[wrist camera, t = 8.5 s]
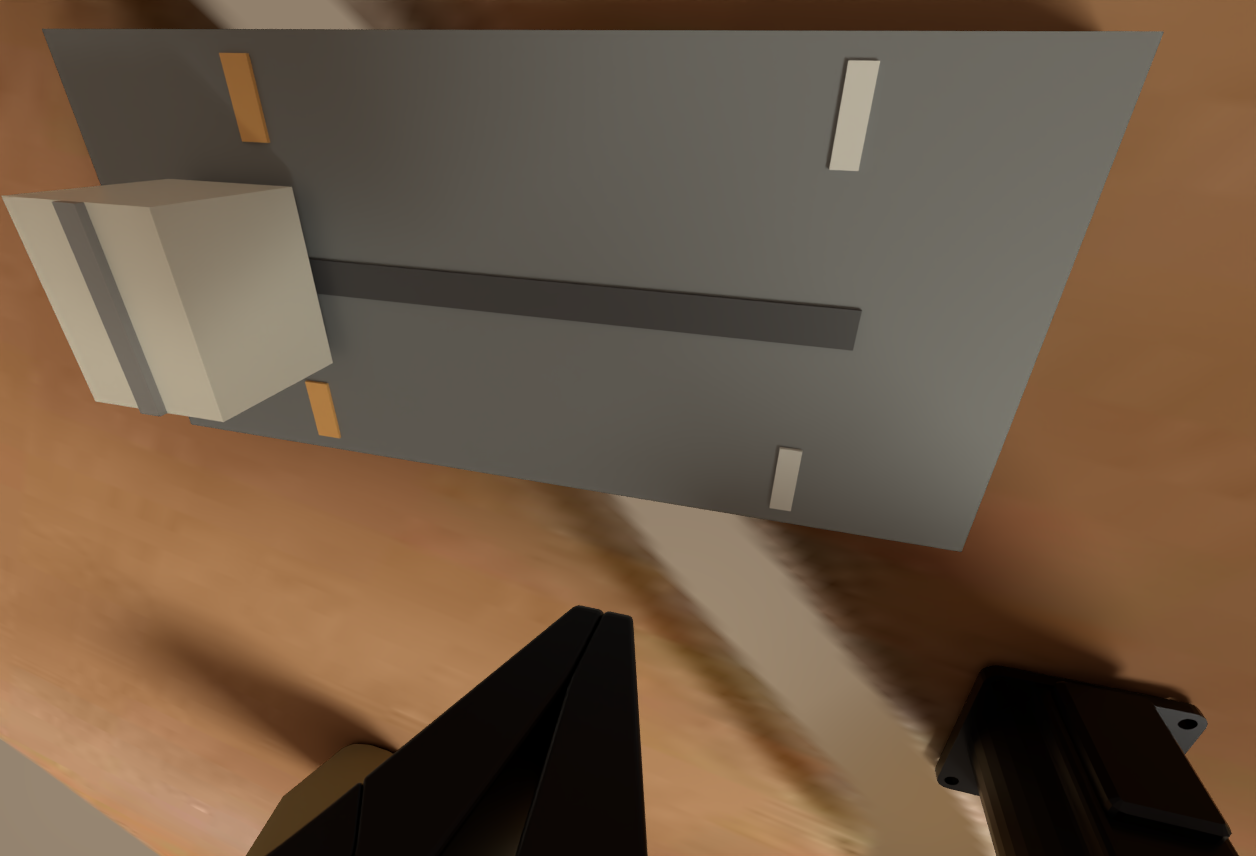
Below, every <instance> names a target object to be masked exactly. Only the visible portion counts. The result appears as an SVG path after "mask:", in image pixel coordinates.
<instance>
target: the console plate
mask: <svg viewBox="0 0 1256 856" xmlns="http://www.w3.org/2000/svg"><path fill="white" fill-rule="evenodd" d="M42 31H43V33H44V36H45V39H46V41H47V44H48V46H49V49H50V52H51V54H52V57H53V60H54V62H55V65H56V68H57V70H58V73H59V76H60V78H61V81H62V83H63V86H64V89H65V91H66V94H67V97H68V99H69V102H70V105H71V107H72V110H73V113H74V115H75V118H76V120H77V123H78V126H79V128H80V131H81V134H82V136H83V139H84V142H85V144H86V147H87V150H88V152H89V155H90V157H91V160H92V163H93V165H94V168H95V171H96V173H97V176H98V179H99V181H100V184H101V186H103V185H112V184H122V183H132V182H142V181H152V180H161V179H180V180H195V181H211V182H226V183H241V184H257V185H272V186H288V187H292V189H293V194H294V198H295V202H296V207H297V211H298V215H299V219H300V224H301V228H302V232H303V237H304V241H305V245H306V250H307V254H308V258H309V262H310V267H311V271H312V275H313V280H314V284H315V288H316V293H317V297H318V301H319V305H320V310H321V314H322V318H323V323H324V327H325V331H326V336H327V340H328V344H329V348H330V353H331V357H332V361H333V363H332V364H330V365H328V366H326V367H325V368H323V369H321V370H319V371H317V372H315V373H313V374H312V375H310V376H308V377H306V378H304V379H302V380H301V381H299V382H297V383H295V384H293V385H291V386H289V387H288V388H286V389H284V390H282V391H280V392H278V393H277V394H275V395H273V396H271V397H269V398H267V399H265V400H264V401H262V402H260V403H258V404H256V405H254V406H252V407H251V408H249V409H247V410H245V411H243V412H241V413H240V414H238V415H236V416H234V417H232V418H230V419H228V420H227V421H225V422H220V421H214V420H208V419H201V418H195V417H189V419H190V422H191V424H193V425H199V426H205V427H211V428H217V429H223V430H229V431H235V432H241V433H247V434H253V435H259V436H265V437H271V438H277V439H283V440H289V441H295V442H301V443H307V444H313V445H319V446H325V447H331V448H337V449H344V450H350V451H356V452H362V453H368V454H374V455H380V456H386V457H392V458H398V459H404V460H410V461H416V462H422V463H428V464H434V465H440V466H446V467H452V468H458V469H464V470H470V471H476V472H482V473H488V474H494V475H500V476H506V477H512V478H518V479H525V480H531V481H537V482H543V483H549V484H555V485H561V486H567V487H573V488H579V489H585V490H591V491H597V492H603V493H609V494H615V495H621V496H627V497H634V498H639V499H645V500H652V501H658V502H664V503H669V504H675V505H681V506H687V507H694V508H699V509H706V510H712V511H718V512H724V513H730V514H736V515H742V516H748V517H754V518H760V519H766V520H772V521H778V522H784V523H790V524H796V525H802V526H808V527H814V528H820V529H826V530H832V531H838V532H844V533H850V534H856V535H862V536H868V537H874V538H880V539H887V540H893V541H899V542H905V543H911V544H917V545H923V546H929V547H935V548H941V549H947V550H953V551H959V552H962V549H963V546H964V544H965V541H966V539H967V536H968V534H969V531H970V528H971V526H972V523H973V521H974V518H975V516H976V513H977V511H978V508H979V505H980V503H981V500H982V498H983V495H984V493H985V490H986V487H987V485H988V482H989V480H990V477H991V475H992V472H993V469H994V467H995V464H996V462H997V459H998V457H999V454H1000V451H1001V449H1002V446H1003V444H1004V441H1005V439H1006V436H1007V433H1008V431H1009V428H1010V426H1011V423H1012V421H1013V418H1014V415H1015V413H1016V410H1017V408H1018V405H1019V403H1020V400H1021V397H1022V395H1023V392H1024V390H1025V387H1026V385H1027V382H1028V379H1029V377H1030V374H1031V372H1032V369H1033V367H1034V364H1035V361H1036V359H1037V356H1038V354H1039V351H1040V349H1041V346H1042V343H1043V341H1044V338H1045V336H1046V333H1047V331H1048V328H1049V326H1050V323H1051V320H1052V318H1053V315H1054V313H1055V310H1056V308H1057V305H1058V302H1059V300H1060V297H1061V295H1062V292H1063V290H1064V287H1065V284H1066V282H1067V279H1068V277H1069V274H1070V272H1071V269H1072V266H1073V264H1074V261H1075V259H1076V256H1077V254H1078V251H1079V248H1080V246H1081V243H1082V241H1083V238H1084V236H1085V233H1086V230H1087V228H1088V225H1089V223H1090V220H1091V218H1092V215H1093V212H1094V210H1095V207H1096V205H1097V202H1098V200H1099V197H1100V194H1101V192H1102V189H1103V187H1104V184H1105V182H1106V179H1107V176H1108V174H1109V171H1110V169H1111V166H1112V164H1113V161H1114V158H1115V156H1116V153H1117V151H1118V148H1119V146H1120V143H1121V141H1122V138H1123V135H1124V133H1125V130H1126V128H1127V125H1128V123H1129V120H1130V117H1131V115H1132V112H1133V110H1134V107H1135V105H1136V102H1137V99H1138V97H1139V94H1140V92H1141V89H1142V87H1143V84H1144V81H1145V79H1146V76H1147V74H1148V71H1149V69H1150V66H1151V63H1152V61H1153V58H1154V56H1155V53H1156V51H1157V48H1158V45H1159V43H1160V40H1161V38H1162V35H1163V33H1164V32H1133V31H729V30H324V29H317V30H316V29H308V30H307V29H303V30H302V29H301V30H300V29H293V30H292V29H281V30H280V29H42Z"/></svg>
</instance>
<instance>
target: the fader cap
mask: <svg viewBox="0 0 1256 856" xmlns="http://www.w3.org/2000/svg"><path fill="white" fill-rule="evenodd" d="M2 198H3V201H4V203H5V205H6V207H7V209H8V212H9V214H10V216H11V218H12V220H13V222H14V225H15V227H16V229H17V231H18V233H19V236H20V238H21V240H22V242H23V244H24V246H25V249H26V251H27V253H28V255H29V257H30V260H31V262H32V264H33V266H34V268H35V270H36V273H37V275H38V277H39V279H40V281H41V283H42V286H43V288H44V290H45V292H46V294H47V297H48V299H49V301H50V303H51V305H52V307H53V310H54V312H55V314H56V316H57V318H58V321H59V323H60V325H61V327H62V329H63V331H64V334H65V336H66V338H67V340H68V342H69V345H70V347H71V349H72V351H73V353H74V355H75V358H76V360H77V362H78V364H79V366H80V369H81V371H82V373H83V375H84V377H85V379H86V382H87V384H88V386H89V388H90V390H91V393H92V395H93V397H94V399H95V401H97V402H103V403H109V404H115V405H122V406H128V407H134V408H139V410H140V413H142V414H148V415H154V416H162V415H164V414H166V413H171V414H177V415H183V416H189V417H195V418H201V419H208V420H214V421H220V422H225V421H227V420H228V419H230V418H232V417H234V416H236V415H238V414H240V413H241V412H243V411H245V410H247V409H249V408H251V407H252V406H254V405H256V404H258V403H260V402H262V401H264V400H265V399H267V398H269V397H271V396H273V395H275V394H277V393H278V392H280V391H282V390H284V389H286V388H288V387H289V386H291V385H293V384H295V383H297V382H299V381H301V380H302V379H304V378H306V377H308V376H310V375H312V374H313V373H315V372H317V371H319V370H321V369H323V368H325V367H326V366H328V365H330V364H332V363H333V361H332V357H331V353H330V348H329V344H328V340H327V336H326V331H325V327H324V323H323V318H322V314H321V310H320V305H319V301H318V297H317V293H316V288H315V284H314V280H313V275H312V271H311V267H310V262H309V258H308V254H307V250H306V245H305V241H304V237H303V232H302V228H301V224H300V219H299V215H298V211H297V207H296V202H295V198H294V194H293V189H292V187H288V186H272V185H257V184H241V183H226V182H211V181H195V180H180V179H161V180H152V181H142V182H132V183H122V184H112V185H103V186H93V187H83V188H73V189H63V190H54V191H44V192H34V193H24V194H14V195H5V196H2Z"/></svg>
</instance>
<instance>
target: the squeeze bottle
mask: <svg viewBox="0 0 1256 856" xmlns="http://www.w3.org/2000/svg"><path fill="white" fill-rule="evenodd" d="M391 755H393V753H391V752H389V751H386V750H384V749H381V748H378V747H375V746H372V745H364V744H352V745H349V746H347V747H344V748H342V749H341V750H340V751H339V752H337V753H336V754H335V755H334V756H332V757H331V758H330V759H329V760H327V761H326V762H325V763H324V764H323V765H321V766H320V767H319V768H318V769H316V770H315V771H314V772H313V773H311V774H310V775H309V776H308V777H307V778H305V779H304V780H303V781H302V782H300V783H299V784H298V785H297V786H295V787H294V788H293V789H292V790H290V791H289V792H288V793H287V794H286V795H284V796H283V797H282V799H281V801H280V802H279V804H278V805H277V807H276V809H275V810H274V812H273V813H272V815H271V817H270V818H269V820H268V821H267V823H266V825H265V826H264V828H263V829H262V831H261V832H260V834H259V836H258V837H257V839H256V840H255V842H254V844H253V845H252V847H251V848H250V850H249V852H248V853H247V855H246V856H264V855H266V854H267V853H269V852H270V851H271V850H273V849H274V848H276V847H277V846H278V845H280V844H281V843H282V842H284V841H285V840H286V839H287V838H289V837H290V836H291V835H293V834H294V833H295V832H296V831H298V830H299V829H300V828H302V827H303V826H304V825H305V824H307V823H308V822H309V821H311V820H312V819H313V818H314V817H316V816H317V815H318V814H319V813H321V812H322V811H323V810H325V809H326V808H327V807H328V806H330V805H331V804H332V803H333V802H335V801H336V800H337V799H338V798H339V797H341V796H342V795H343V794H344V793H346V792H347V791H348V790H349V789H351V788H352V787H353V786H354V785H355V784H357V783H359V782H360V783H362V784H363V780H364V778H365V777H366V776H367V775H368V774H369V773H371V772H372V771H373V770H374V769H375V768H377V767H378V766H379V765H380V764H382V763H383V762H384V761H385V760H386V759H388V758H389V757H390V756H391Z"/></svg>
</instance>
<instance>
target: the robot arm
mask: <svg viewBox="0 0 1256 856" xmlns="http://www.w3.org/2000/svg"><path fill="white" fill-rule="evenodd" d="M997 680H1000V681H997ZM1207 724H1208V723H1207V721H1206V719H1205V717H1204V716H1203V714H1202V713H1201V712H1200V710H1199V709H1198V708H1197V707H1196V706H1195V705H1192V704H1189V703H1184V702H1179V701H1174V700H1169V699H1164V698H1159V697H1154V696H1149V695H1144V694H1139V693H1134V692H1129V691H1124V690H1119V689H1114V688H1109V687H1104V686H1099V685H1094V684H1089V683H1084V682H1079V681H1074V680H1069V679H1063V678H1058V677H1053V676H1048V675H1043V674H1038V673H1033V672H1028V671H1023V670H1018V669H1013V668H1008V667H1003V666H989V667H986V668H984V669H983V670H982V671H981V672H980V674H979V676H978V678H977V680H976V682H975V684H974V686H973V689H972V691H971V693H970V695H969V697H968V699H967V701H966V703H965V706H964V708H963V710H962V712H961V714H960V716H959V718H958V721H957V723H956V725H955V727H954V729H953V731H952V733H951V735H950V738H949V740H948V742H947V744H946V746H945V748H944V750H943V752H942V755H941V757H940V759H939V761H938V763H937V765H936V767H935V772H936V777H937V781H938V783H939V784H940V785H941V786H943V787H946V788H949V789H953V790H957V791H961V792H965V793H969V794H973V795H978V796H980V799H981V802H982V806H983V809H984V813H985V817H986V820H987V824H988V827H989V831H990V835H991V838H992V842H993V845H994V849H995V853H996V856H1239V855H1238V853H1237V852H1236V850H1235V848H1234V847H1233V845H1232V843H1231V842H1230V840H1229V837H1230V835H1231V834H1232V833H1231V830H1230V827H1229V825H1228V824H1227V822H1226V821H1225V819H1224V817H1223V816H1222V814H1221V813H1220V811H1219V809H1218V808H1217V806H1216V804H1215V803H1214V801H1213V800H1212V798H1211V796H1210V795H1209V793H1208V791H1207V790H1206V788H1205V787H1204V785H1203V783H1202V782H1201V780H1200V778H1199V777H1198V775H1197V774H1196V772H1195V770H1194V769H1193V767H1192V765H1191V764H1190V762H1189V761H1188V759H1187V757H1186V756H1185V754H1186V752H1187V751H1188V750H1189V749H1190V747H1191V746H1192V745H1193V744H1194V742H1195V741H1196V740H1197V739H1198V737H1199V736H1200V735H1201V734H1202V732H1203V731H1204V730H1205V729H1206V727H1207ZM264 856H648V854H647V838H646V822H645V806H644V789H643V773H642V757H641V741H640V725H639V709H638V692H637V676H636V660H635V644H634V628H633V619H632V617H631V616H629V615H624V614H619V613H614V612H605V613H603V612H602V611H601V610H600V609H595V608H590V607H585V606H580V605H578V606H575V607H573V608H572V609H570V610H569V611H568V612H567V613H565V614H564V615H563V616H562V617H560V618H559V619H558V620H557V621H556V622H554V623H553V624H552V625H551V626H549V627H548V628H547V629H546V630H545V631H543V632H542V633H541V634H540V635H538V636H537V637H536V638H535V639H534V640H532V641H531V642H530V643H529V644H527V645H526V646H525V647H524V648H522V649H521V650H520V651H519V652H518V653H516V654H515V655H514V656H513V657H511V658H510V659H509V660H508V661H507V662H505V663H504V664H503V665H502V666H500V667H499V668H498V669H497V670H496V671H494V672H493V673H492V674H491V675H489V676H488V677H487V678H486V679H484V680H483V681H482V682H481V683H480V684H478V685H477V686H476V687H475V688H473V689H472V690H471V691H470V692H469V693H467V694H466V695H465V696H464V697H462V698H461V699H460V700H459V701H458V702H456V703H455V704H454V705H453V706H451V707H450V708H449V709H448V710H446V711H445V712H444V713H443V714H442V715H440V716H439V717H438V718H437V719H435V720H434V721H433V722H432V723H431V724H429V725H428V726H427V727H426V728H424V729H423V730H422V731H421V732H420V733H418V734H417V735H416V736H415V737H413V738H412V739H411V740H410V741H409V742H407V743H406V744H405V745H404V746H402V747H401V748H400V749H399V750H397V751H396V752H395V753H394V754H393V755H391V756H390V757H389V758H388V759H386V760H385V761H384V762H383V763H382V764H380V765H379V766H378V767H377V768H375V769H374V770H373V771H372V772H371V773H369V774H368V775H367V776H366V777H365V778H364V780H363V784H362V783H360V782H359V783H357V784H355V785H354V786H353V787H352V788H351V789H349V790H348V791H347V792H346V793H344V794H343V795H342V796H341V797H339V798H338V799H337V800H336V801H335V802H333V803H332V804H331V805H330V806H328V807H327V808H326V809H325V810H323V811H322V812H321V813H319V814H318V815H317V816H316V817H314V818H313V819H312V820H311V821H309V822H308V823H307V824H305V825H304V826H303V827H302V828H300V829H299V830H298V831H296V832H295V833H294V834H293V835H291V836H290V837H289V838H287V839H286V840H285V841H284V842H282V843H281V844H280V845H278V846H277V847H276V848H274V849H273V850H271V851H270V852H269V853H267V854H266V855H264Z"/></svg>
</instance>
